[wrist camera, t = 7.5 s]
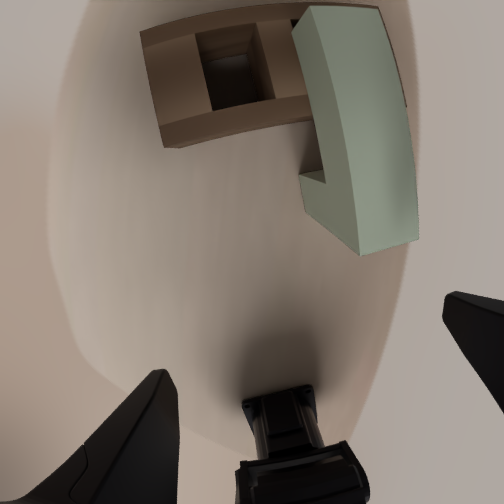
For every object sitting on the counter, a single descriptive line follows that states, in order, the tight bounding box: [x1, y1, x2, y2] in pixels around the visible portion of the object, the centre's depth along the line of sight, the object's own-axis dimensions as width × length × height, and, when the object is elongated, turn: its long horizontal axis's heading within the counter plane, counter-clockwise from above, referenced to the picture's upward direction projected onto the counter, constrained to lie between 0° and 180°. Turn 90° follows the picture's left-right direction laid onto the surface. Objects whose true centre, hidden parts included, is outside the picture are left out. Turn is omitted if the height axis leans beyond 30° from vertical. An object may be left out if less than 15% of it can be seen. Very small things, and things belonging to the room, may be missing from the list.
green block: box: [291, 6, 419, 256], centre depth 13 cm, size 10×3×8 cm, turn 13°
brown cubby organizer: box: [140, 2, 407, 148], centre depth 13 cm, size 6×12×5 cm, turn 102°
